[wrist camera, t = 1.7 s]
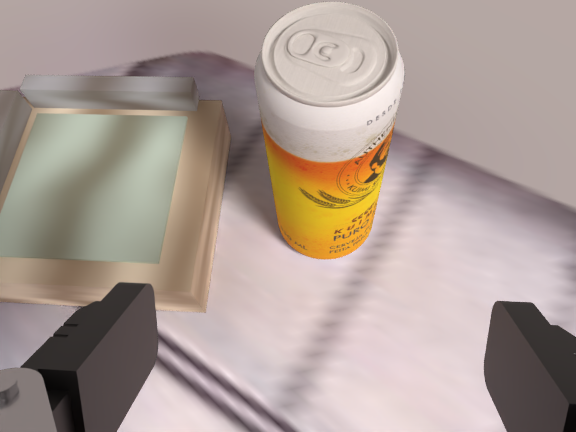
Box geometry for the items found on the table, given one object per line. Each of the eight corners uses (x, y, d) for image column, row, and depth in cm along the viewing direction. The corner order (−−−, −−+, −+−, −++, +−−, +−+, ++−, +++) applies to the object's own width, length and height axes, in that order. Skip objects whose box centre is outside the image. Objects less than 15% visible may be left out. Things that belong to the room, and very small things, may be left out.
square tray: (231, 133, 36) (217, 77, 31) (205, 312, 30) (182, 280, 25) (47, 129, 37) (3, 74, 32) (-14, 301, 31) (-79, 268, 26)
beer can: (349, 279, 31) (373, 133, 17) (262, 241, 32) (222, 80, 19) (385, 200, 33) (431, 19, 20) (303, 168, 34) (293, -21, 21)
